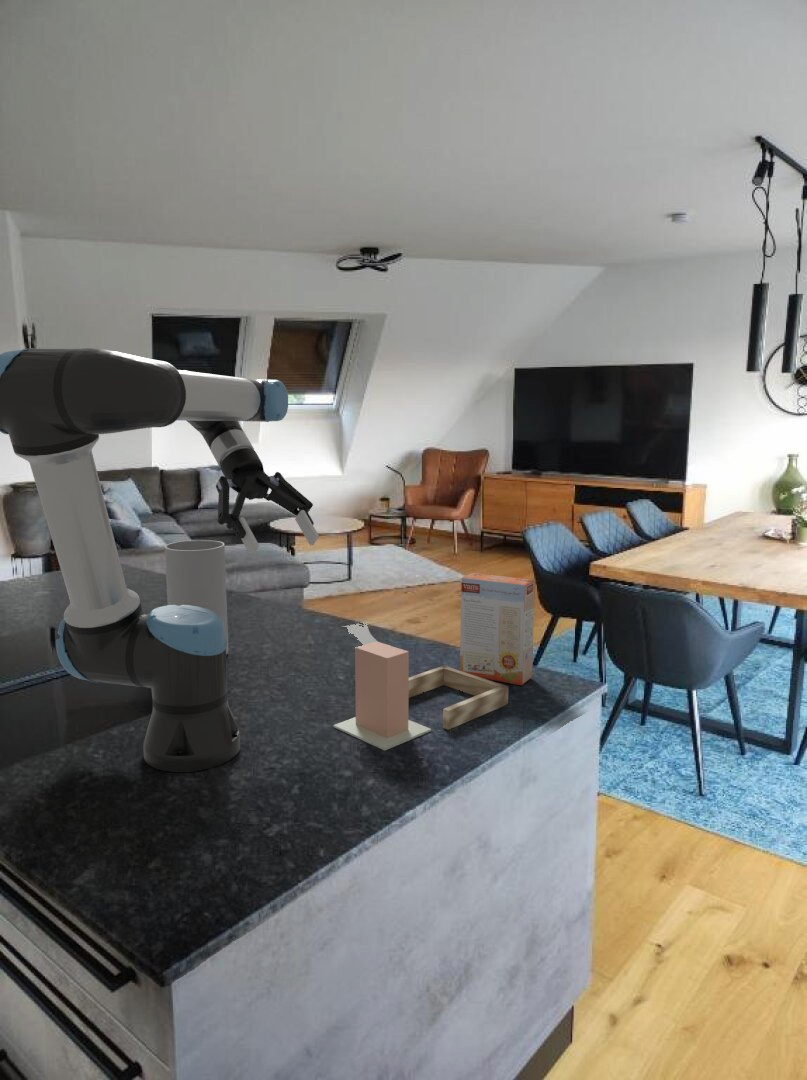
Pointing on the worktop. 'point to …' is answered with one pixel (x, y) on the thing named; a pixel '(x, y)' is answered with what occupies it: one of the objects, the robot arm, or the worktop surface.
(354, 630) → the kitchen cleaver
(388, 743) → the sage mat
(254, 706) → the worktop surface
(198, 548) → the cylinder vase
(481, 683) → the birch bay
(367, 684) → the peach block
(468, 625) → the cracker box
